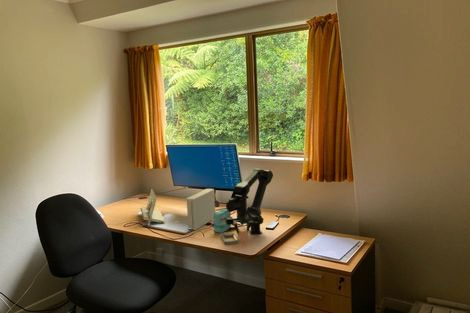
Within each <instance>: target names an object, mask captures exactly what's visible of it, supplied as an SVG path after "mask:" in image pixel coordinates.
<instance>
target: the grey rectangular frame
mask: <svg viewBox="0 0 470 313" xmlns="http://www.w3.org/2000/svg"><path fill="white" fill-rule="evenodd" d="M220 236H221V240H222V241H223V244H224V245H226V246H227V245H232V244H234V245H235V244H239V239H237V237H236V235H235V233H228V234H221V235H220ZM226 238H233V240H226Z"/></svg>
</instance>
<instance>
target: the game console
mask: <svg viewBox="0 0 470 313" xmlns="http://www.w3.org/2000/svg"><path fill="white" fill-rule="evenodd" d="M215 201H216V200H215V189H214V188H206V189H203V190H201V191H199V192H197V193H196V194H193V195H191V196H189V197H186V208H187V209H186V211H187V213H186V214H187V226H188V227H187V229H188V228H191V229H193V230H192V231H197V230H198V229H199V228H201V227H203V226H204V225H206V224H207V223H209V222H211V221H212V220H214V213H216V202H215Z"/></svg>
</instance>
